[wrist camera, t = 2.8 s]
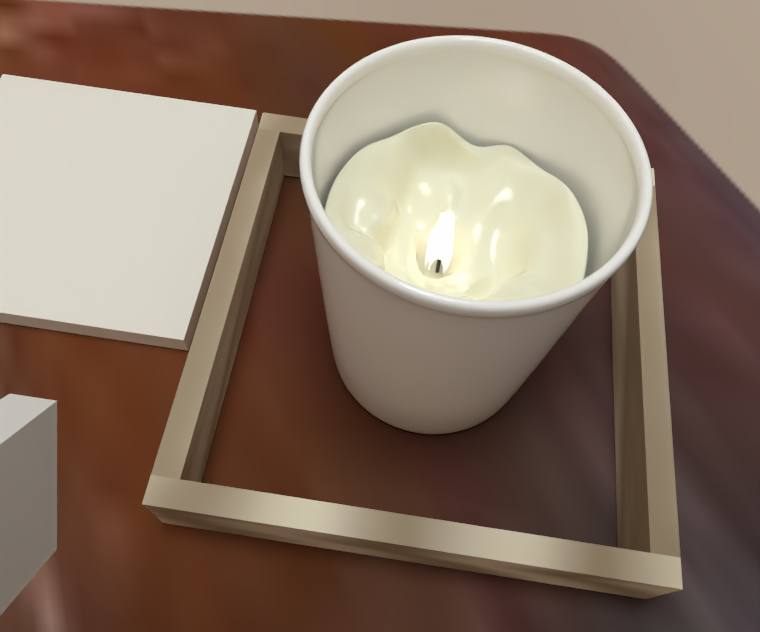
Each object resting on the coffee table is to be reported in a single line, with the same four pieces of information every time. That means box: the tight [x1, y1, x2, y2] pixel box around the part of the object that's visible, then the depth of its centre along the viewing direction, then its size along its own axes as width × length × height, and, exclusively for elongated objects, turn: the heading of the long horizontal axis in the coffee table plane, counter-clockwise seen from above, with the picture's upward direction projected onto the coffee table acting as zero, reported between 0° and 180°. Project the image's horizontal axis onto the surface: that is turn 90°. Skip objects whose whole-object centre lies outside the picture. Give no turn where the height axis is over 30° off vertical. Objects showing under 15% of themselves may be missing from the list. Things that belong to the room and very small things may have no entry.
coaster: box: [0, 74, 258, 351], centre depth 31 cm, size 13×13×1 cm
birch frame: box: [142, 113, 683, 599], centre depth 28 cm, size 18×18×3 cm
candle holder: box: [299, 35, 653, 434], centre depth 24 cm, size 10×10×12 cm
